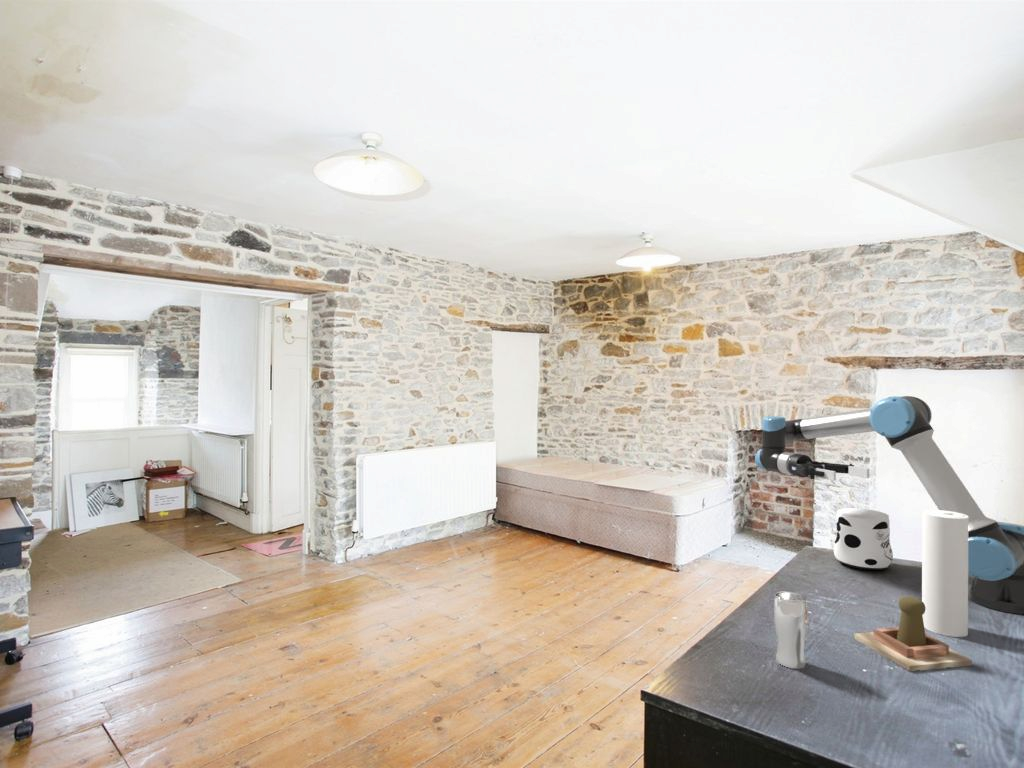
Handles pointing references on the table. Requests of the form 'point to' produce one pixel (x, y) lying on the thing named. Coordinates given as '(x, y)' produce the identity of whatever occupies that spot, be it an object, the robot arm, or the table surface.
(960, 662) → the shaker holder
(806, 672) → the table surface
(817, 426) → the robot arm
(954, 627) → the cylinder container
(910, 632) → the cork
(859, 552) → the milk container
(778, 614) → the beer glass
